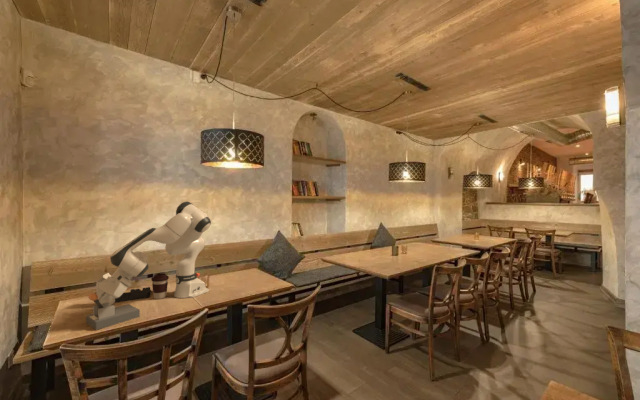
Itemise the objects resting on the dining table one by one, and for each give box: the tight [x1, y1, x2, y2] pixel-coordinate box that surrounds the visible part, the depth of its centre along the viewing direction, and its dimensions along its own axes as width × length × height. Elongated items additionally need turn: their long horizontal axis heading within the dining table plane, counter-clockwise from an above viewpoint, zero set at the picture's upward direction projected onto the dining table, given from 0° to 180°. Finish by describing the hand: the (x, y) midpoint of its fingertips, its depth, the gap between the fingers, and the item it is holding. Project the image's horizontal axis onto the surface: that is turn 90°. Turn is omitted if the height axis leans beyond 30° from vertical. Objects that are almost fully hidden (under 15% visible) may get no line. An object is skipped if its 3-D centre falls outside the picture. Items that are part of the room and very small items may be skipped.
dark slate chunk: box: [114, 286, 153, 304], centre depth 193 cm, size 15×22×5 cm
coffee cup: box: [150, 273, 170, 300], centre depth 193 cm, size 10×10×15 cm
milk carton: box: [95, 272, 116, 306], centre depth 179 cm, size 7×7×19 cm
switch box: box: [85, 302, 141, 331], centre depth 158 cm, size 20×14×9 cm
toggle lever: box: [88, 293, 104, 309], centre depth 152 cm, size 3×3×12 cm
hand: (99, 301), depth 152 cm, fingers closed, pressing on toggle lever
